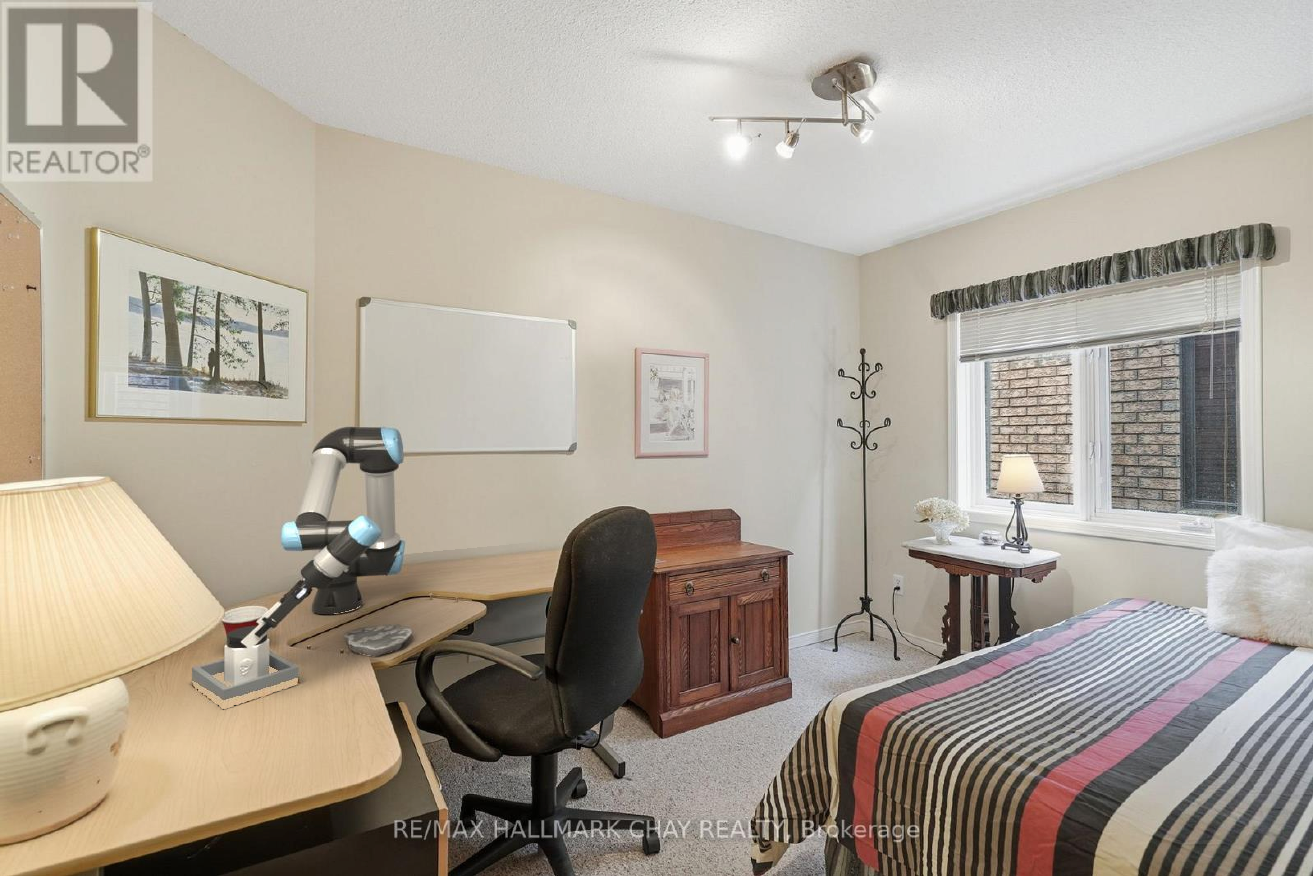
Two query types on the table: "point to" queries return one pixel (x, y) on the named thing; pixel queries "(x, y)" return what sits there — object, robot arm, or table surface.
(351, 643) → the grey stone slab
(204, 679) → the bin
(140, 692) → the table surface
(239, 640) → the jar
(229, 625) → the plastic cup
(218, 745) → the table surface
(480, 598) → the table surface
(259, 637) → the robot arm
